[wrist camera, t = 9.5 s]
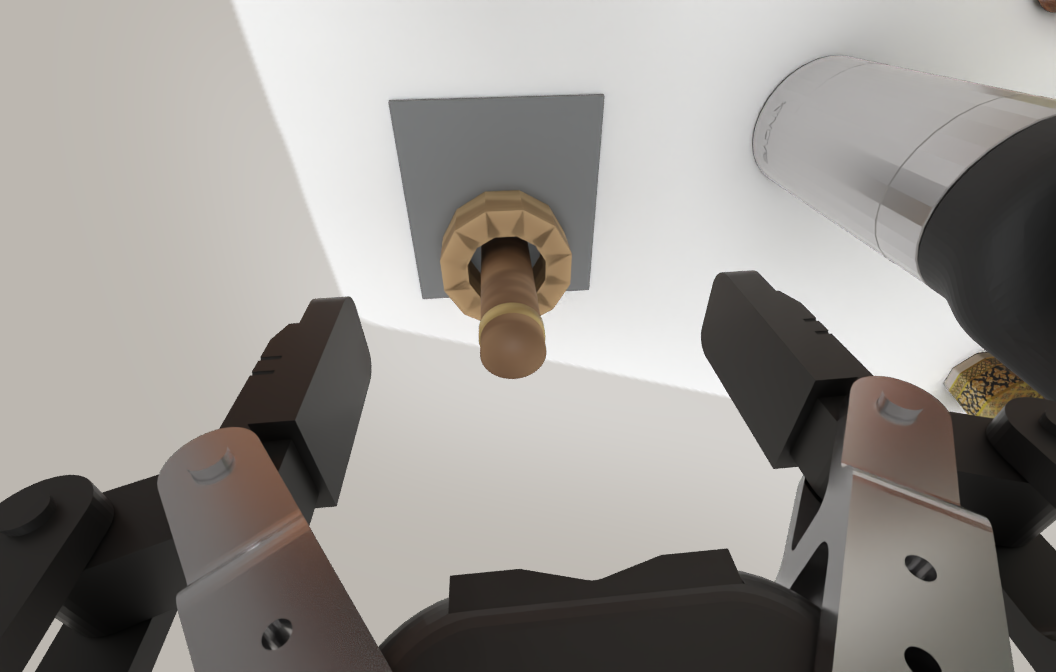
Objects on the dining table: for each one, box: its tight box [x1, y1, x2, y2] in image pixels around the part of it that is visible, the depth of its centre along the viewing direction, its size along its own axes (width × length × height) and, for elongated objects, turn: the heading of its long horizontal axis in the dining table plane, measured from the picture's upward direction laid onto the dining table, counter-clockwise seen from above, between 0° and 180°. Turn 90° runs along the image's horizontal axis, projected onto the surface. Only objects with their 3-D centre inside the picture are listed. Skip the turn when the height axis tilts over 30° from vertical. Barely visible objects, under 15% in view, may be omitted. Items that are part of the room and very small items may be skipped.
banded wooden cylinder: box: [479, 236, 546, 379], centre depth 34 cm, size 4×4×14 cm
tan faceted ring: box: [440, 190, 572, 321], centre depth 38 cm, size 10×10×4 cm
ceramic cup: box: [944, 352, 1045, 418], centre depth 51 cm, size 13×10×10 cm
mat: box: [388, 94, 604, 299], centre depth 38 cm, size 15×16×1 cm
